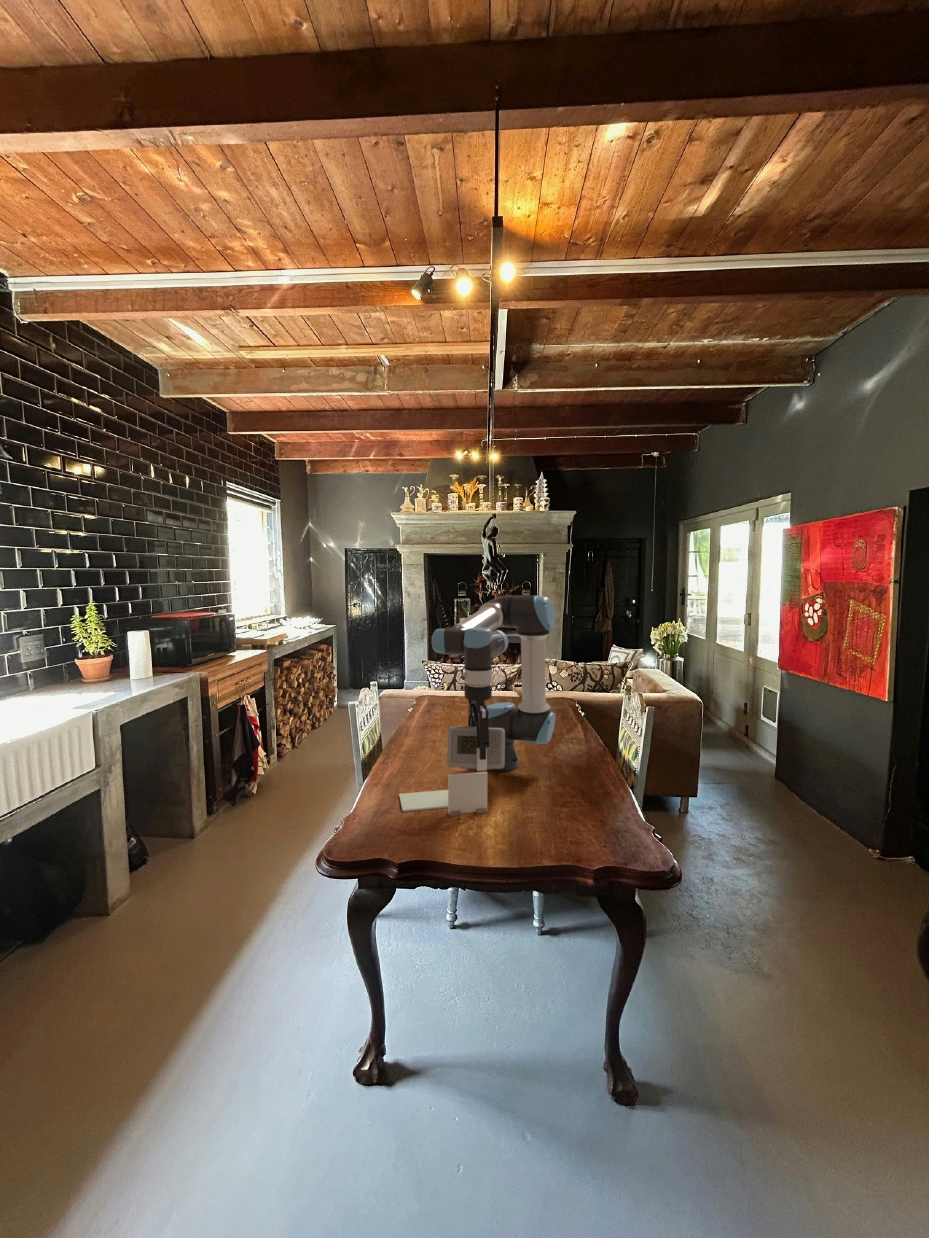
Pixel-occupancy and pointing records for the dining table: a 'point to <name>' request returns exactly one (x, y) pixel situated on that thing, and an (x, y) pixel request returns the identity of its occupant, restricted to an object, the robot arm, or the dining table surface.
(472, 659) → the robot arm
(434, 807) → the mat
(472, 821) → the dining table surface
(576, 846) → the dining table surface
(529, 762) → the dining table surface
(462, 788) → the screen
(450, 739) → the digital clock
